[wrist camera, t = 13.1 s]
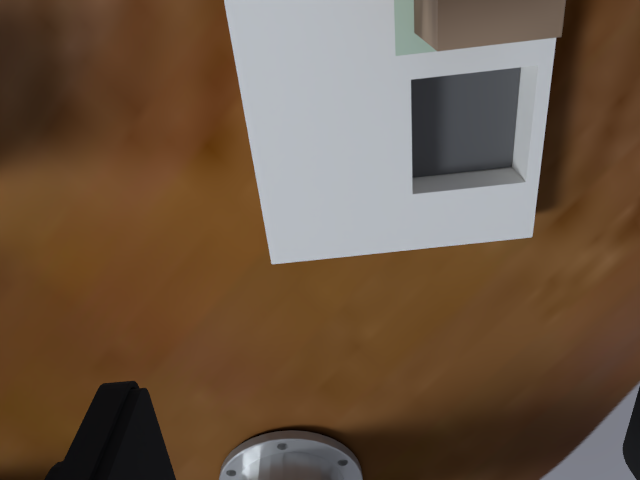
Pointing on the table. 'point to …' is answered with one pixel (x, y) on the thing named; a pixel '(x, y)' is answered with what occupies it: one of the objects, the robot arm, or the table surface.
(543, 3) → the walnut block
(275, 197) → the deck
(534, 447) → the table surface
